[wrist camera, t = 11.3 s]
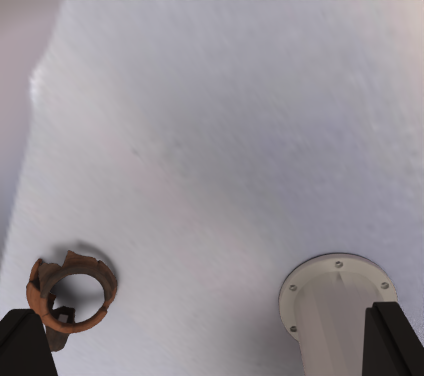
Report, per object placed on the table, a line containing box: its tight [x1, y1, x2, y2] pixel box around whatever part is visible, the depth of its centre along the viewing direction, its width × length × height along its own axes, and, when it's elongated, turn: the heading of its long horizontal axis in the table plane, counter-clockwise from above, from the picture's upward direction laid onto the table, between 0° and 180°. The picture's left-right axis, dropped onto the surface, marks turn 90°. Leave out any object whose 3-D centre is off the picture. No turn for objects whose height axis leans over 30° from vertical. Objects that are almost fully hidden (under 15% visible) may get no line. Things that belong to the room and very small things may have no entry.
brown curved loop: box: [26, 250, 117, 352], centre depth 43 cm, size 12×10×8 cm
